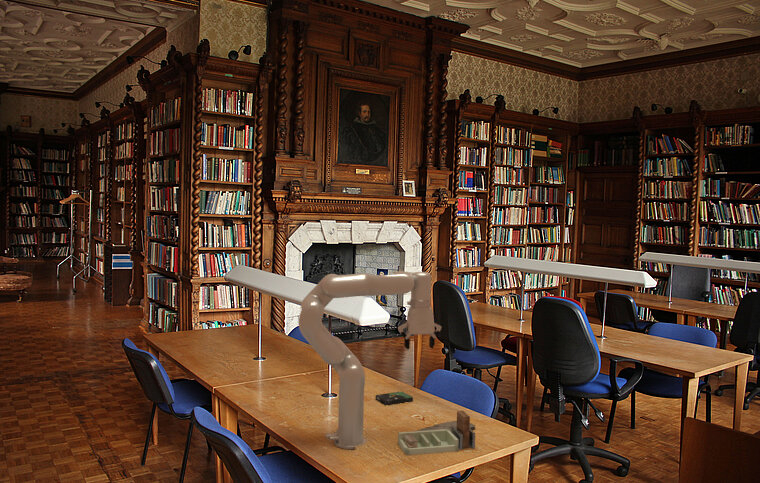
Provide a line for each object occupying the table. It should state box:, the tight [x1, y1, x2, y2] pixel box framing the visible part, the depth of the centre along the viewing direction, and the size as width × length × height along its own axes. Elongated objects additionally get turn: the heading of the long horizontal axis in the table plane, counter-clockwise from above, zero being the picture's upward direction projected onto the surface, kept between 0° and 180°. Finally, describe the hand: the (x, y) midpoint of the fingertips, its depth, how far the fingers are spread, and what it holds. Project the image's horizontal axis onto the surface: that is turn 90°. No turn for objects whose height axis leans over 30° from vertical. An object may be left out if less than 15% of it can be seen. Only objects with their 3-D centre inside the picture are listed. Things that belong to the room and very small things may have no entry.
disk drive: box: [375, 391, 414, 407], centre depth 281 cm, size 10×3×15 cm
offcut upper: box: [404, 435, 418, 446], centre depth 222 cm, size 3×6×2 cm, turn 19°
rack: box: [397, 429, 459, 456], centre depth 224 cm, size 20×11×5 cm, turn 104°
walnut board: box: [456, 410, 471, 449], centre depth 227 cm, size 2×7×12 cm, turn 14°
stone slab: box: [416, 420, 476, 432], centre depth 242 cm, size 10×3×30 cm
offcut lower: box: [404, 440, 418, 448], centre depth 222 cm, size 3×7×2 cm, turn 14°
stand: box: [451, 426, 476, 451], centre depth 227 cm, size 6×9×7 cm, turn 14°
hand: (419, 348), depth 231 cm, fingers open, 9 cm apart
